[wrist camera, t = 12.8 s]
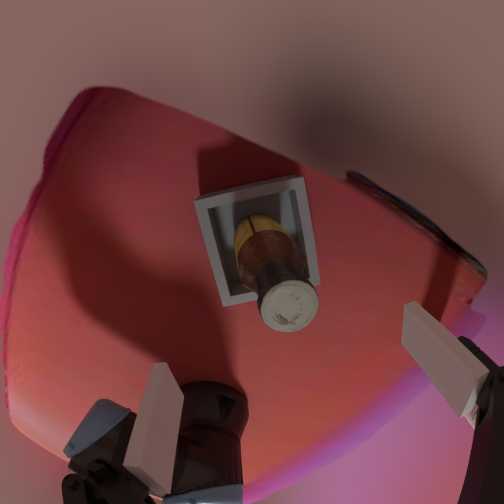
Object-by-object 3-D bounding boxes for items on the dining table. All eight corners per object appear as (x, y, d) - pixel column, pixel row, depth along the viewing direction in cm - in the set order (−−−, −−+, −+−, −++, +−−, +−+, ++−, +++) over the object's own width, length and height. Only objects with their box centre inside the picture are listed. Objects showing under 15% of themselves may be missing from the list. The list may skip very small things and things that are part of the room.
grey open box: (224, 288, 40) (223, 306, 34) (199, 195, 36) (193, 201, 30) (309, 268, 40) (320, 284, 34) (293, 174, 35) (303, 176, 30)
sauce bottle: (245, 264, 38) (256, 362, 19) (225, 223, 36) (216, 292, 17) (290, 245, 38) (341, 327, 19) (272, 203, 36) (316, 251, 17)
